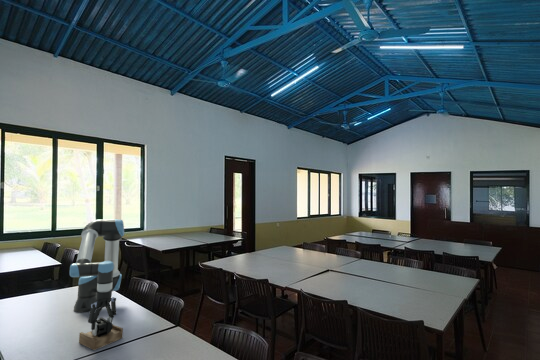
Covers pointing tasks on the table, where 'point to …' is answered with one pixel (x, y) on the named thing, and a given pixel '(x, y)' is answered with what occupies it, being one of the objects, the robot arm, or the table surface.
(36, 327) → the table surface
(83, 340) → the pedestal
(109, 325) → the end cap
